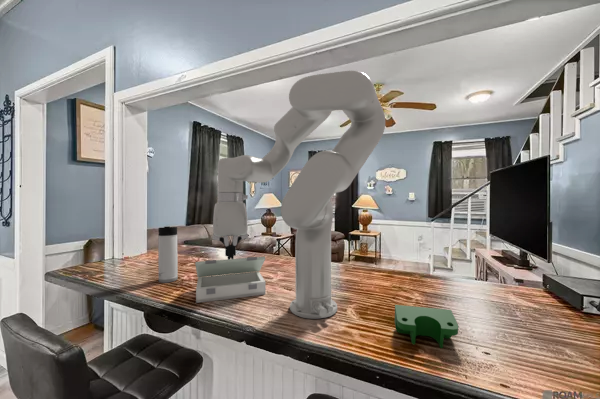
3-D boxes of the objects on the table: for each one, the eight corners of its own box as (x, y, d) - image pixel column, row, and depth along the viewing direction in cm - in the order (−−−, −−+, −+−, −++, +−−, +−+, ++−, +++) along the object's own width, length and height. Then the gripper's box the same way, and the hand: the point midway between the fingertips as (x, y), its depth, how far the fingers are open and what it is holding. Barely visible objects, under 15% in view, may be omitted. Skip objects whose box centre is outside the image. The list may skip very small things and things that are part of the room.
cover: (265, 258, 80) (265, 255, 81) (195, 263, 74) (195, 260, 74) (259, 271, 92) (259, 268, 92) (197, 277, 85) (197, 274, 86)
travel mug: (157, 284, 91) (156, 227, 91) (159, 278, 97) (159, 225, 97) (176, 282, 93) (176, 226, 93) (178, 276, 99) (177, 224, 99)
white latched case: (266, 295, 79) (266, 282, 79) (195, 303, 73) (195, 290, 73) (259, 282, 91) (258, 271, 91) (198, 289, 85) (198, 277, 85)
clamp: (407, 362, 53) (389, 325, 52) (403, 340, 59) (387, 306, 58) (469, 350, 49) (451, 310, 48) (459, 328, 55) (443, 292, 54)
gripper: (253, 198, 86) (253, 254, 86) (204, 198, 81) (204, 257, 81) (256, 198, 78) (256, 259, 79) (204, 198, 74) (204, 263, 74)
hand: (230, 258), depth 80 cm, fingers closed
